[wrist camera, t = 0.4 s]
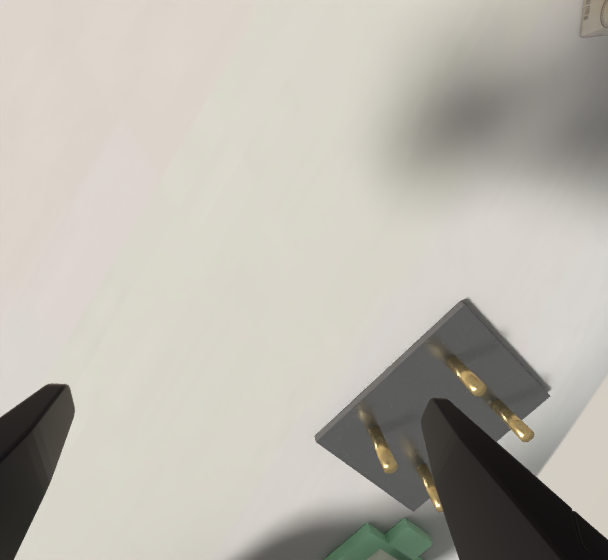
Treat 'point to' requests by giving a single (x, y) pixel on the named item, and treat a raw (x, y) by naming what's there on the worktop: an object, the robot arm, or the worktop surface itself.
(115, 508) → the worktop surface
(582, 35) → the coffee box
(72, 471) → the worktop surface
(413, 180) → the worktop surface
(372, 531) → the beige and green block
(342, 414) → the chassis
